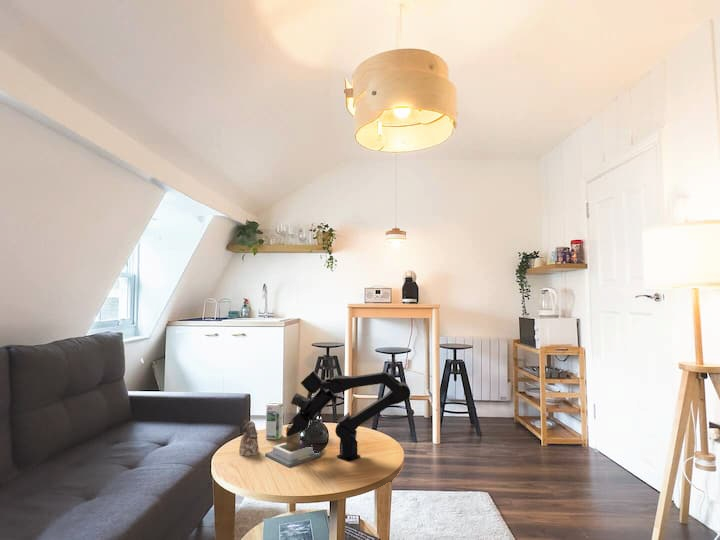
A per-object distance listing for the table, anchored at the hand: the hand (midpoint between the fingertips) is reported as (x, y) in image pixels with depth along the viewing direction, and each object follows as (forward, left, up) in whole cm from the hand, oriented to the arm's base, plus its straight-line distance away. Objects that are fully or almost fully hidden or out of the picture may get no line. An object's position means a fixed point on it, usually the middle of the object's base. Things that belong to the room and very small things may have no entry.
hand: (289, 431), depth 155 cm
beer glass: (+15, -19, -9) cm, 26 cm away
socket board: (-1, -1, -9) cm, 9 cm away
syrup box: (+22, -8, -9) cm, 25 cm away
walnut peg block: (-1, -1, -8) cm, 8 cm away
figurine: (+14, +9, -9) cm, 19 cm away
